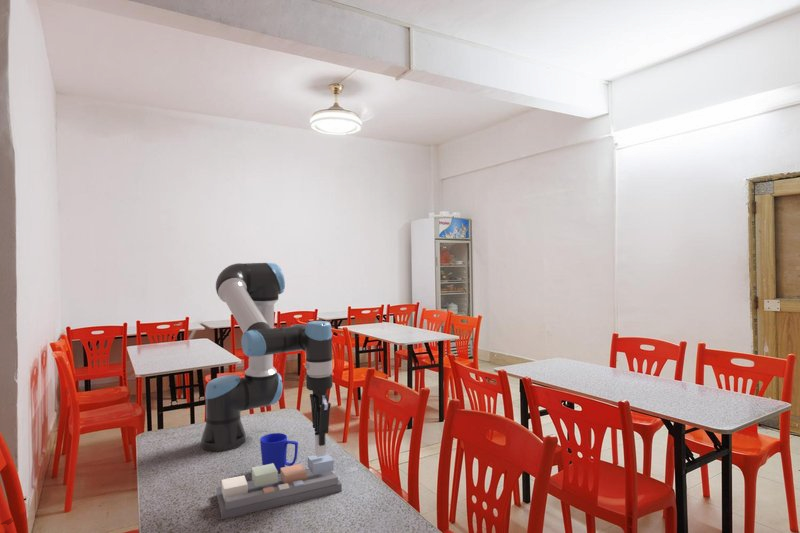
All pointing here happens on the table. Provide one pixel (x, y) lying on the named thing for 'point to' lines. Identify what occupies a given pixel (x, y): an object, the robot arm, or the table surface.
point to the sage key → (264, 475)
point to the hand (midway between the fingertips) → (320, 455)
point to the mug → (276, 450)
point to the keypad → (278, 494)
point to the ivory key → (234, 486)
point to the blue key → (320, 464)
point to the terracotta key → (293, 474)
